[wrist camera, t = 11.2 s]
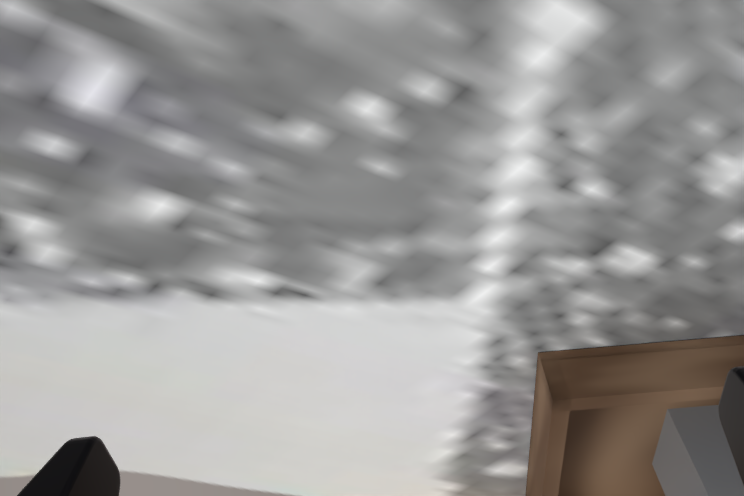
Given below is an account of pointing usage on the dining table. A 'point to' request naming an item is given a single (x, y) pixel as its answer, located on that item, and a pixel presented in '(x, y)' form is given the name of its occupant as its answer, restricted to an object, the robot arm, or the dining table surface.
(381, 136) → the dining table surface
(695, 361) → the walnut tray
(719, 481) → the slate stone block
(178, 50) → the dining table surface
